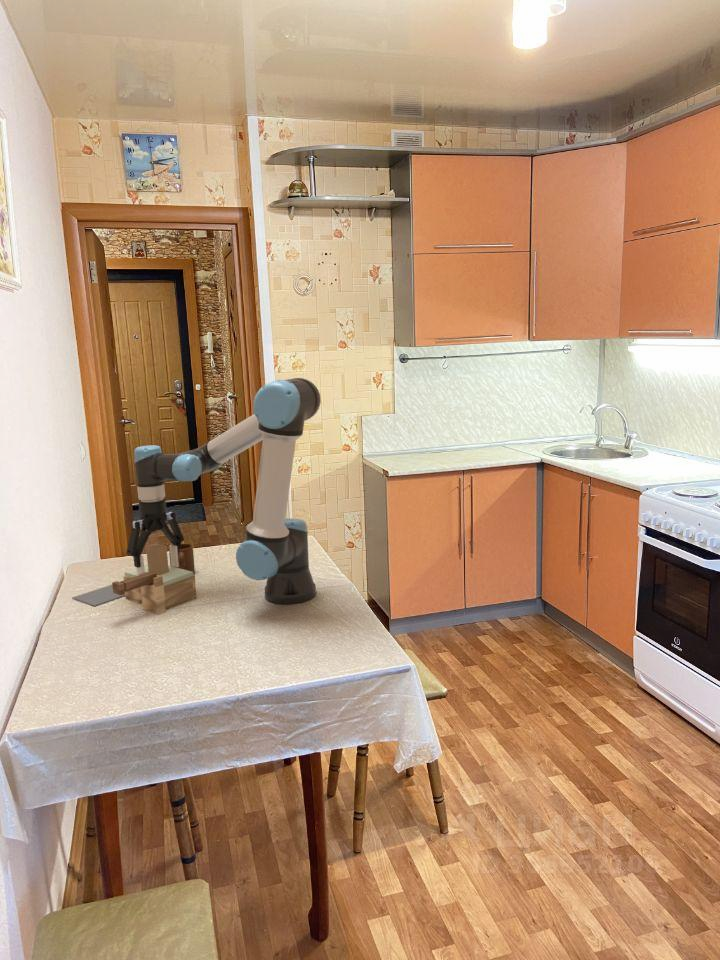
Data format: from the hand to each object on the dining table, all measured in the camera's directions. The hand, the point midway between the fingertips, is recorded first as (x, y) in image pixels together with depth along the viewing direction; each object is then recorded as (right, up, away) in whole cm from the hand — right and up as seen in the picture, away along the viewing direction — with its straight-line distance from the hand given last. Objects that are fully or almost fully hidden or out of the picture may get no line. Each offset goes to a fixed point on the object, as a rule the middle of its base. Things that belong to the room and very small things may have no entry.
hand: (158, 571), depth 210 cm
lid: (0, -1, 0) cm, 1 cm away
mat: (-16, -7, +8) cm, 20 cm away
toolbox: (0, -8, 0) cm, 8 cm away
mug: (+2, -4, +21) cm, 22 cm away
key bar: (-2, -3, -13) cm, 14 cm away
